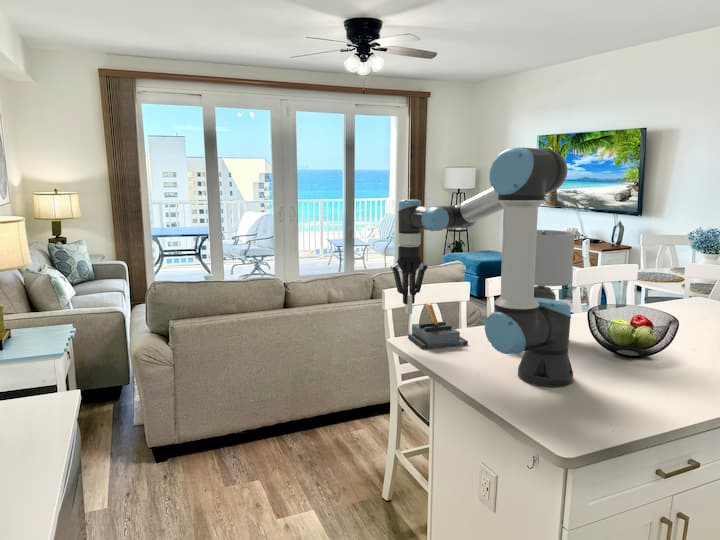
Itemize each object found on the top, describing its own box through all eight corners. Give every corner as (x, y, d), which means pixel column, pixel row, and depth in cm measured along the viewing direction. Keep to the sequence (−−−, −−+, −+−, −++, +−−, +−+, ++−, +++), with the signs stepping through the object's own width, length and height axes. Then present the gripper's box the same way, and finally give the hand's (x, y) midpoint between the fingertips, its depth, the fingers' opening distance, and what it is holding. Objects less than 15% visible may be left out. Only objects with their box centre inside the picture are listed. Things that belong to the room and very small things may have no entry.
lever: (439, 325, 184) (432, 304, 182) (436, 327, 184) (429, 305, 181) (435, 323, 187) (428, 302, 184) (432, 325, 186) (425, 303, 184)
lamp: (499, 334, 194) (503, 230, 188) (528, 324, 208) (533, 226, 201) (550, 347, 179) (557, 234, 173) (577, 335, 193) (585, 230, 186)
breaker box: (459, 345, 181) (460, 328, 180) (427, 349, 178) (427, 331, 177) (442, 334, 194) (442, 318, 193) (411, 337, 191) (412, 321, 190)
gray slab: (467, 345, 182) (467, 341, 182) (459, 345, 181) (460, 341, 181) (449, 333, 195) (449, 330, 195) (442, 334, 194) (442, 331, 194)
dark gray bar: (426, 348, 178) (426, 344, 178) (422, 349, 178) (422, 345, 178) (411, 338, 190) (411, 334, 190) (408, 338, 190) (408, 334, 190)
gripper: (422, 243, 183) (421, 309, 187) (387, 244, 179) (387, 311, 183) (431, 245, 176) (430, 314, 180) (395, 247, 172) (394, 317, 176)
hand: (408, 312), depth 181 cm, fingers closed
